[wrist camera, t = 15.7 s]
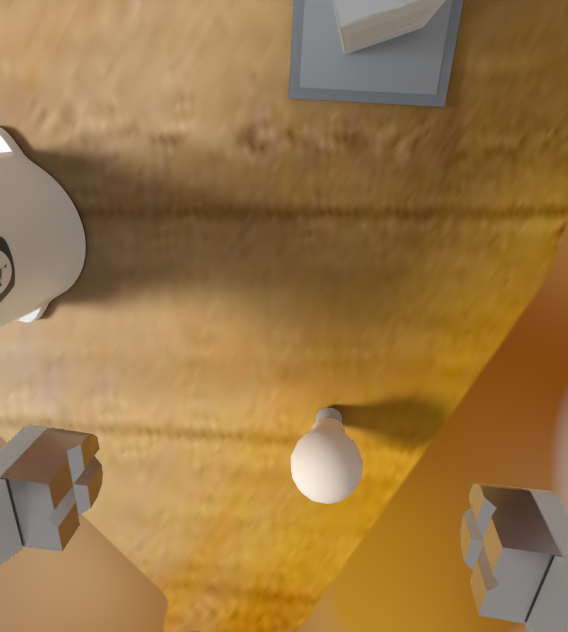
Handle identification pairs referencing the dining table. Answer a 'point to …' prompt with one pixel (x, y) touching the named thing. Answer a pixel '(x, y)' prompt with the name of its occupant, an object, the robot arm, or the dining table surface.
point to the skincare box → (380, 20)
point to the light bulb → (326, 460)
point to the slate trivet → (372, 60)
